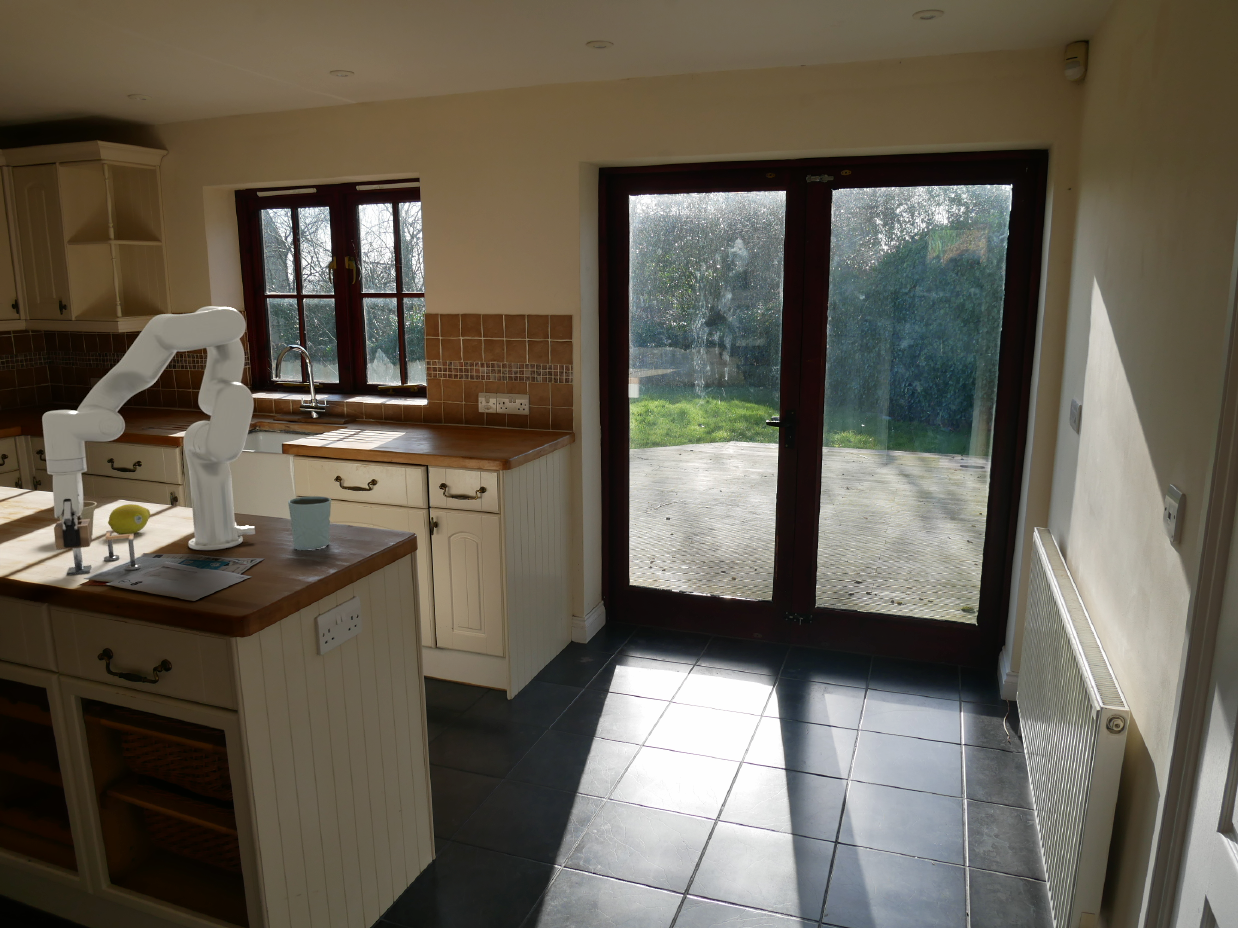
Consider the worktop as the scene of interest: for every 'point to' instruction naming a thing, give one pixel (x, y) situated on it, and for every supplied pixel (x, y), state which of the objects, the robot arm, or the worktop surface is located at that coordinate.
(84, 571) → the peg stand
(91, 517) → the flower pot
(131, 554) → the buzz wire
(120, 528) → the lemon
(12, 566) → the worktop surface
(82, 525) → the open wooden box
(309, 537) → the light blue cup
